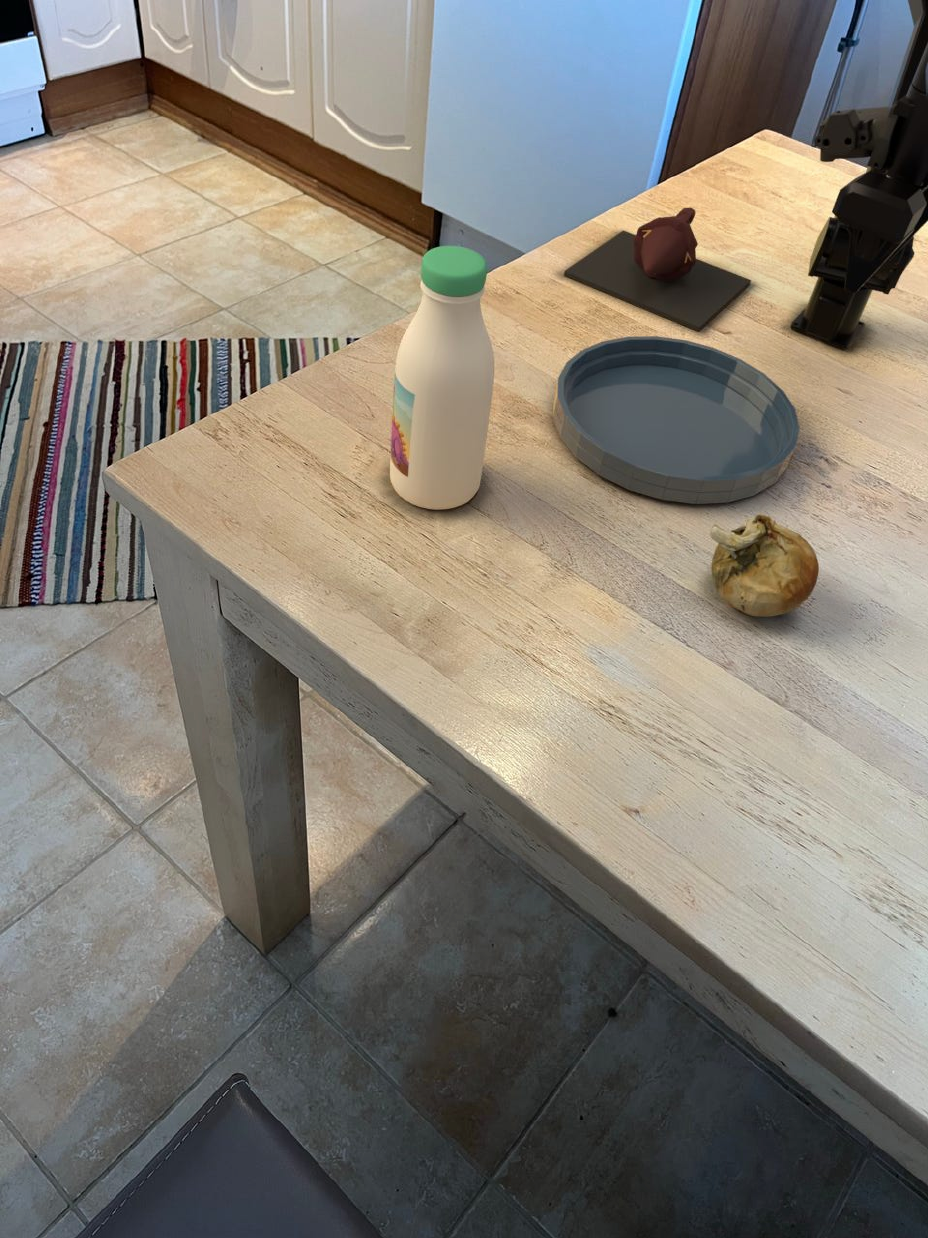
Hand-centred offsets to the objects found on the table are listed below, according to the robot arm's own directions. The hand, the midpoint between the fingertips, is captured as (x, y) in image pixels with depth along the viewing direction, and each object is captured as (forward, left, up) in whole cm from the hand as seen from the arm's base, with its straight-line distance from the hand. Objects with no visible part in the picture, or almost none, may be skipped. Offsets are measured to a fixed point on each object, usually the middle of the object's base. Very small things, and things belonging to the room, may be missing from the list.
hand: (868, 273), depth 88 cm
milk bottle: (+38, -21, -12) cm, 45 cm away
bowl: (+17, -9, -12) cm, 23 cm away
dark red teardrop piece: (-7, -22, -12) cm, 26 cm away
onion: (+33, +6, -12) cm, 36 cm away
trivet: (-8, -23, -12) cm, 27 cm away
